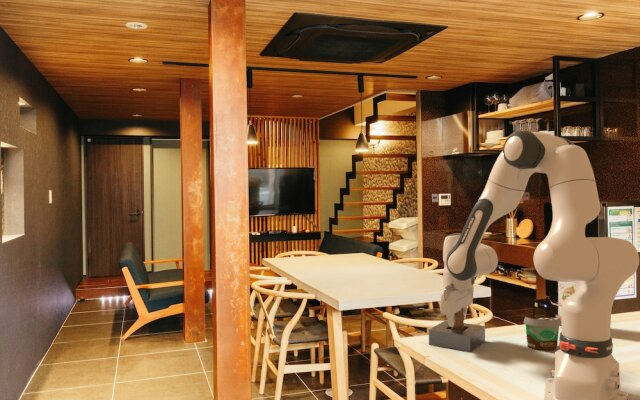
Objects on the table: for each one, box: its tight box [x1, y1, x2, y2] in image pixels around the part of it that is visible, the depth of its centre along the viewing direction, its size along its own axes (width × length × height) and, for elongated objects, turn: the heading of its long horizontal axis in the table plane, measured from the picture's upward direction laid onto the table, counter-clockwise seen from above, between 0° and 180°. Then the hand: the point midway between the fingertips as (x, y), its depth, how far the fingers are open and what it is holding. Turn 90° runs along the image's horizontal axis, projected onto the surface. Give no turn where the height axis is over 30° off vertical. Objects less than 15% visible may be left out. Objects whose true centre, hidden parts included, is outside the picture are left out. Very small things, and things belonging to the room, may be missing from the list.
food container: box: [523, 314, 562, 352], centre depth 167 cm, size 12×6×10 cm, turn 102°
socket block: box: [428, 319, 486, 353], centre depth 175 cm, size 14×14×5 cm
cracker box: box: [557, 281, 581, 327], centre depth 189 cm, size 14×6×21 cm, turn 18°
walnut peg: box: [451, 307, 465, 331], centre depth 175 cm, size 4×4×12 cm
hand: (457, 323), depth 175 cm, fingers open, 8 cm apart
